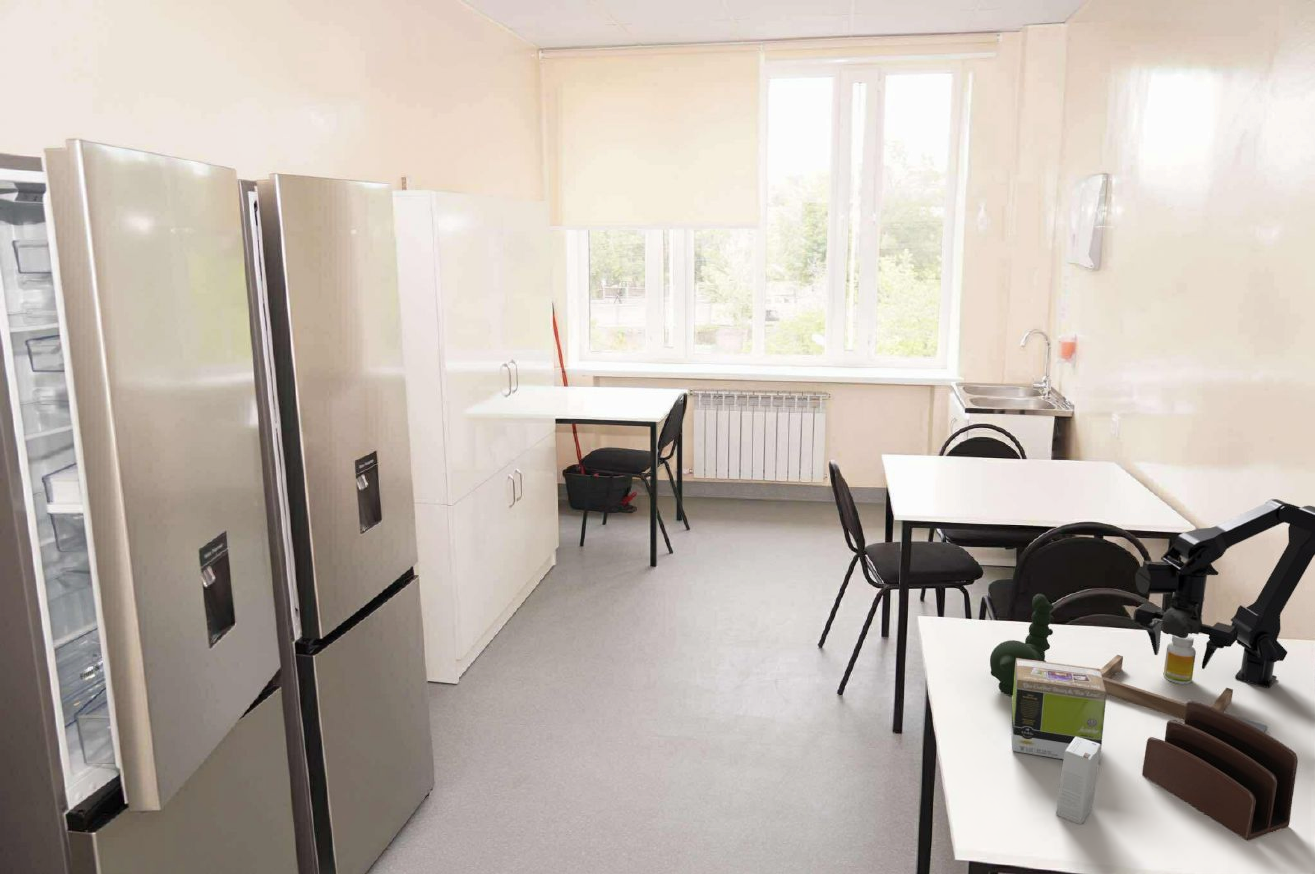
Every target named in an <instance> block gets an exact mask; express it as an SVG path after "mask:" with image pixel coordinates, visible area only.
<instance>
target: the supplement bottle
mask: <svg viewBox="0 0 1315 874" xmlns="http://www.w3.org/2000/svg"><path fill="white" fill-rule="evenodd" d="M1171 641H1172V642H1169V644H1167V647H1166V652H1165V653H1166V654H1165V660H1164V667H1163V677H1164V678H1165V679H1166V680H1167V681H1169V682H1171V683H1175V684H1179V685H1180V684H1181V685H1187V684H1191V683H1192V682H1193V675H1194V668H1195V661H1196V653H1197V651H1196V648H1195V647H1194V641H1195V640H1194V637H1193V636H1192V635H1189V634H1188V636H1187V637H1186V638H1179V637H1178V636H1175V635H1171Z"/></svg>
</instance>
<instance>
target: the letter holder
mask: <svg viewBox="0 0 1315 874" xmlns="http://www.w3.org/2000/svg"><path fill="white" fill-rule="evenodd" d="M1227 713H1228V712H1222V711H1220V710H1217V709H1215V708H1213V707H1211V706H1210V705H1207V704H1205V703H1202V702H1199V701H1196V700H1187V702H1186V711H1185V720H1183V721H1184V722H1182V721H1178V720H1176V719H1169V720H1167V721H1166V727H1165V735H1164V736H1165V737H1164V740H1163V739H1159V738H1157V737H1154V736H1150V737H1148V738H1147V741H1146V745H1145V752H1144V759H1143V765H1142V773H1141V774H1142V776H1143V777H1145V778H1146V779H1148V780H1150V781H1151V782H1153V783H1154V784H1156V785H1158V786H1159V787H1161V788H1162V789H1164V790H1165V791H1167V792H1169V793H1171V794H1172V795H1174V796H1175V797H1177V798H1179V800H1182V801H1183V802H1185V803H1186V804H1188V805H1189V806H1191V807H1193V808H1194V809H1196V810H1197V811H1199V812H1201V813H1202V814H1204V815H1206V816H1207V817H1209V818H1211V819H1212V820H1214V821H1215V822H1217V823H1218V824H1220V825H1222V826H1223V827H1225V828H1226V829H1228V830H1229V831H1232V832H1233V833H1235V834H1236V835H1238V836H1239V837H1241V838H1243V839H1244V840H1245V841H1251V840H1254V839H1256V838H1260V837H1263V836H1265V835H1268V834H1271V833H1275V832H1277V831H1280V830H1283V829H1285V828H1288V827H1289V826H1290V822H1291V813H1292V806H1293V800H1294V799H1293V797H1294V791H1295V785H1296V777H1297V772H1298V771H1297V770H1298V765H1299V764H1298V763H1299V761H1298V756H1297V755H1298V754H1297V753H1296V752H1295V751H1294V750H1292V749H1291V748H1290V747H1289V746H1286V745H1285V744H1284V743H1282V742H1280V741H1279V740H1277V739H1276V738H1274V737H1273V736H1271V735H1269V734H1268V733H1266V732H1265V733H1264V732H1262V731H1261V730H1259V729H1257V728H1255V727H1253V726H1252V725H1250V724H1248V723H1246V722H1244V721H1241V720H1239V719H1237V718H1235V717H1233V716H1231V715H1229V714H1230V713H1229V714H1227Z"/></svg>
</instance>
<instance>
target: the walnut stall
mask: <svg viewBox="0 0 1315 874" xmlns="http://www.w3.org/2000/svg"><path fill="white" fill-rule="evenodd" d="M1123 662H1124V656H1123V655H1119V654H1116V655H1115V656H1114V657H1113V658H1112V659H1111V660H1109V661H1108V662H1107V663H1106V664H1105V665H1104V666H1103V667H1102V668H1099V669H1100V672H1101V676H1102V679H1103V683H1104V686H1105V690H1106V696H1107V695H1108V696H1110V697H1114V698H1117V699H1119V700H1122V701H1126V702H1128V703H1131V704H1134V705H1137V706H1140V707H1142V708H1147V709H1149V710H1153V711H1156V712H1159V713H1161V714H1164V715H1168V716H1171V717H1174V718H1176V719H1179V720H1182V721H1185V711H1186V704H1187V702H1186V703H1185V702H1182V701H1180V700H1176V699H1173V698H1171V697H1167V696H1164V695H1160V694H1157V693H1154V692H1151V691H1149V690H1145V689H1142V688H1138V687H1135V686H1133V685H1130V684H1126V683H1124V682H1123V683H1122V682H1121V681H1120V682H1119V681H1117V680H1114V679H1113V678H1114V677H1115V676H1116V675H1117V674H1118V673H1119V672H1120V671H1122V668H1123ZM1233 694H1234V689H1232V688H1229V687H1225V689H1224V690H1223V691H1222V693H1220V695H1219V696H1218V698H1216V700H1215V701H1214V702H1213V703H1212V704H1211V706H1210V707H1213V708H1215V709H1217V710H1220V711H1222V712H1224V713H1226V710H1227V709H1228V708H1229V707H1228V706H1230V705H1231V704H1232V701H1233V700H1232V699H1233Z"/></svg>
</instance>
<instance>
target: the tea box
mask: <svg viewBox="0 0 1315 874" xmlns="http://www.w3.org/2000/svg"><path fill="white" fill-rule="evenodd" d="M1100 669H1101V668H1095V667H1090V666H1089V667H1088V666H1081V665H1072V664H1065V663H1058V662H1057V663H1056V662H1050V661H1046V662H1043V661H1035V660H1026V659H1020V658H1016V661H1015V673H1014V687H1013V696H1012V697H1011V698H1012V699H1011V701H1012V702H1011V709H1010V711H1011V712H1010V713H1011V714H1010V730H1011V734H1010V735H1011V750H1012V751H1013V752H1017V753H1023V754H1030V755H1034V756H1041V757H1042V756H1043V757H1048V758H1055V759H1061V760H1064V753H1065V750H1066V749H1067V747H1068V746H1069V745H1070V743H1071V742H1072V741H1073V739H1074V738H1075V737H1080V738H1083V739H1086V740H1089V741H1092V742H1096V743H1098V744H1101V747H1102V743H1103V734H1104V733H1103V732H1104V725H1105V724H1104V723H1105V713H1106V704H1107V703H1106V701H1107V694H1106V690H1105V686H1104V683H1103V679H1102V676H1101V672H1100ZM1012 751H1011V752H1012ZM1101 753H1102V751H1101V752H1100V757H1101V756H1102V755H1101ZM1100 763H1101V758H1100V759H1099V765H1100Z"/></svg>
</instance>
